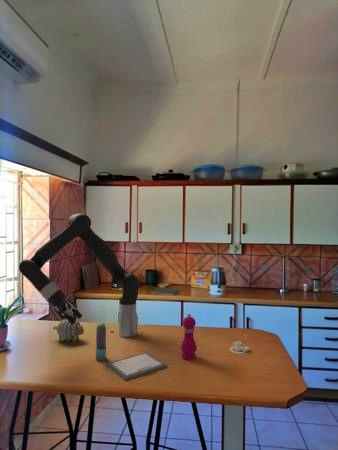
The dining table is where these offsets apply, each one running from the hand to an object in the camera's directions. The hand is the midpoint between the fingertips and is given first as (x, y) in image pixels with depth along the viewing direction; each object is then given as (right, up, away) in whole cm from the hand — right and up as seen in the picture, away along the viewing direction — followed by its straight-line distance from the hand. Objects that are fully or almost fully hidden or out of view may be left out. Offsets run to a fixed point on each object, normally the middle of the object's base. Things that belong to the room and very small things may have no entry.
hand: (77, 320), depth 144 cm
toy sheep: (-11, -17, +21) cm, 29 cm away
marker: (+11, -17, -1) cm, 20 cm away
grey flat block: (+27, -17, -8) cm, 33 cm away
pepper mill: (+50, -18, +2) cm, 53 cm away
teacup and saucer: (+75, -18, +8) cm, 78 cm away
